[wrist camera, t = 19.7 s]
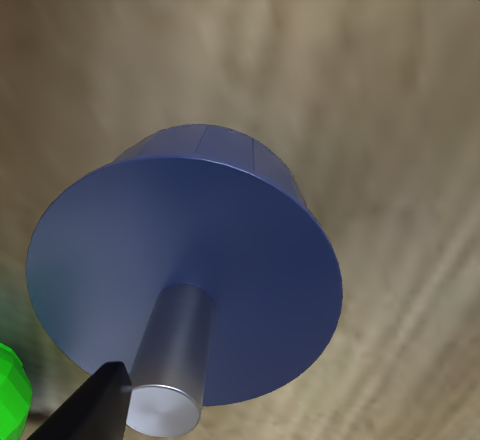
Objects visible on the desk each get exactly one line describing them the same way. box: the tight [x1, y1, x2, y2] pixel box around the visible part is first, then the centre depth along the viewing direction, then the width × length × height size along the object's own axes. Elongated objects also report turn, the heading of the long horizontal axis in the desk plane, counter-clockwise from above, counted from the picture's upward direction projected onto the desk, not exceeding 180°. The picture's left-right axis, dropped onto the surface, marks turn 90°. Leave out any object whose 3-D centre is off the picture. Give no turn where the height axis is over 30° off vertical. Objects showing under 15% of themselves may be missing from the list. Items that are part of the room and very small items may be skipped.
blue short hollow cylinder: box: [113, 124, 307, 207], centre depth 17 cm, size 12×12×6 cm
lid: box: [26, 152, 343, 438], centre depth 13 cm, size 13×13×6 cm
